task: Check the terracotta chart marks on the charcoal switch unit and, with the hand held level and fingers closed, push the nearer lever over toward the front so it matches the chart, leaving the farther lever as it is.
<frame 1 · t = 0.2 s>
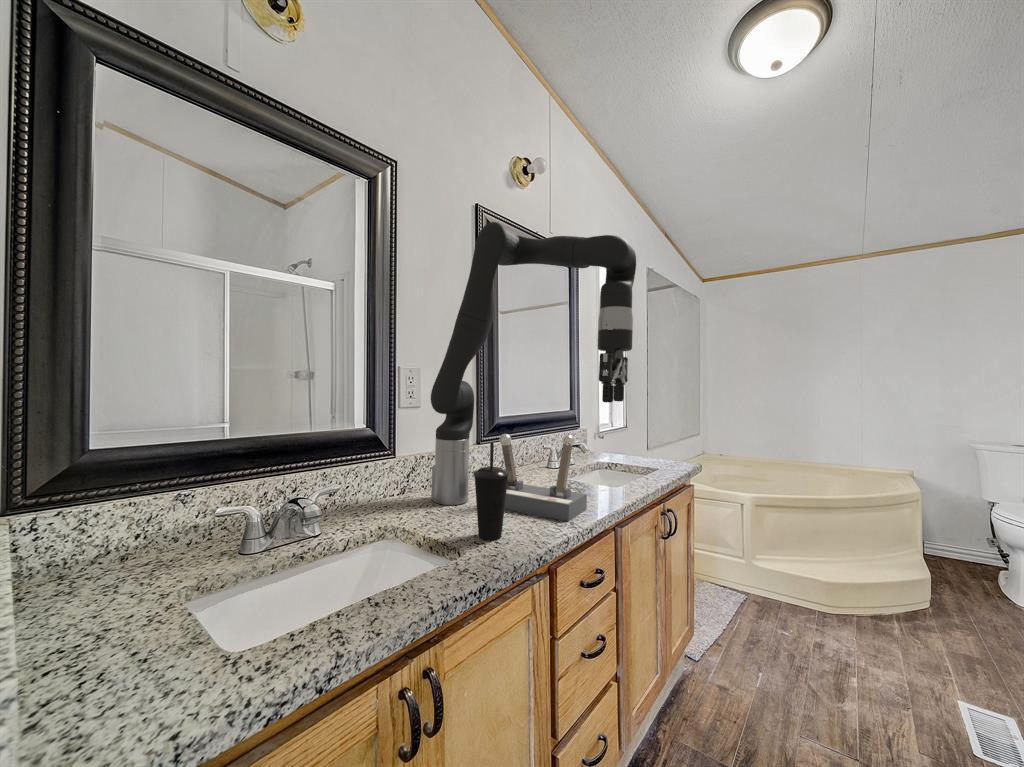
hand: (613, 401, 96), 29 cm above the worktop, tool pointing down, fingers open, 8 cm apart
lever 1: (508, 460, 115), point 12 cm above the worktop, hinge at 20.0°
drinking cup: (489, 537, 91), on the worktop
lever 2: (564, 463, 112), point 12 cm above the worktop, hinge at -20.0°
switch unit: (535, 507, 113), on the worktop
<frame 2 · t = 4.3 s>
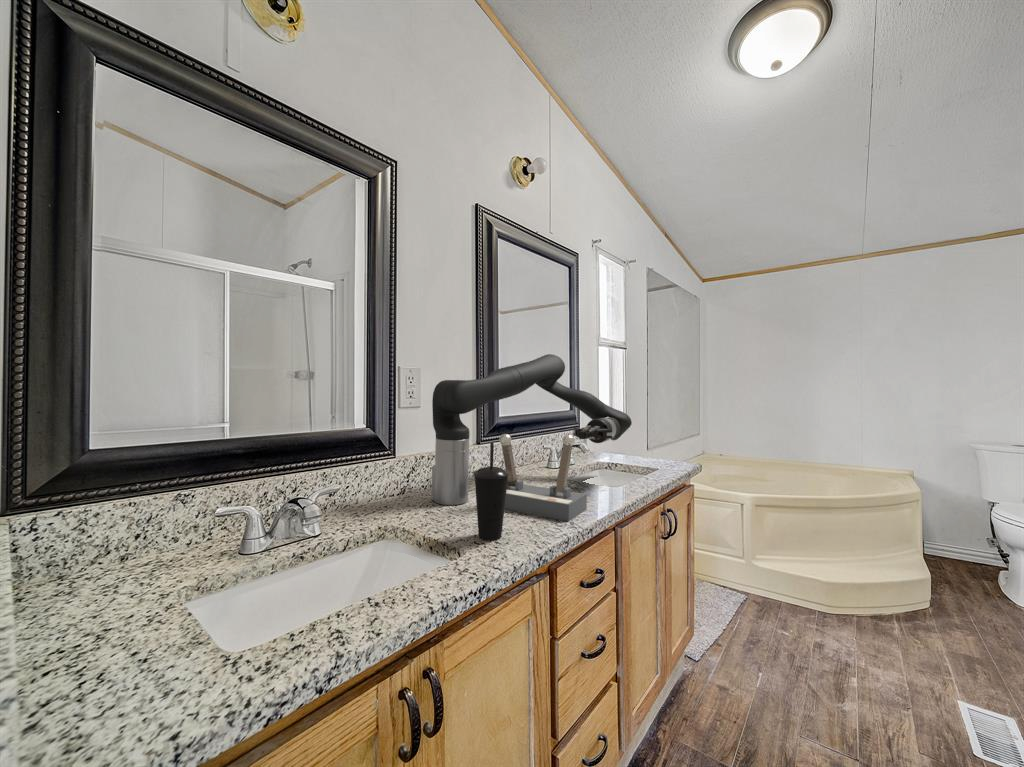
hand: (581, 435, 122), 18 cm above the worktop, tool horizontal, fingers closed
nothing on the worktop moved.
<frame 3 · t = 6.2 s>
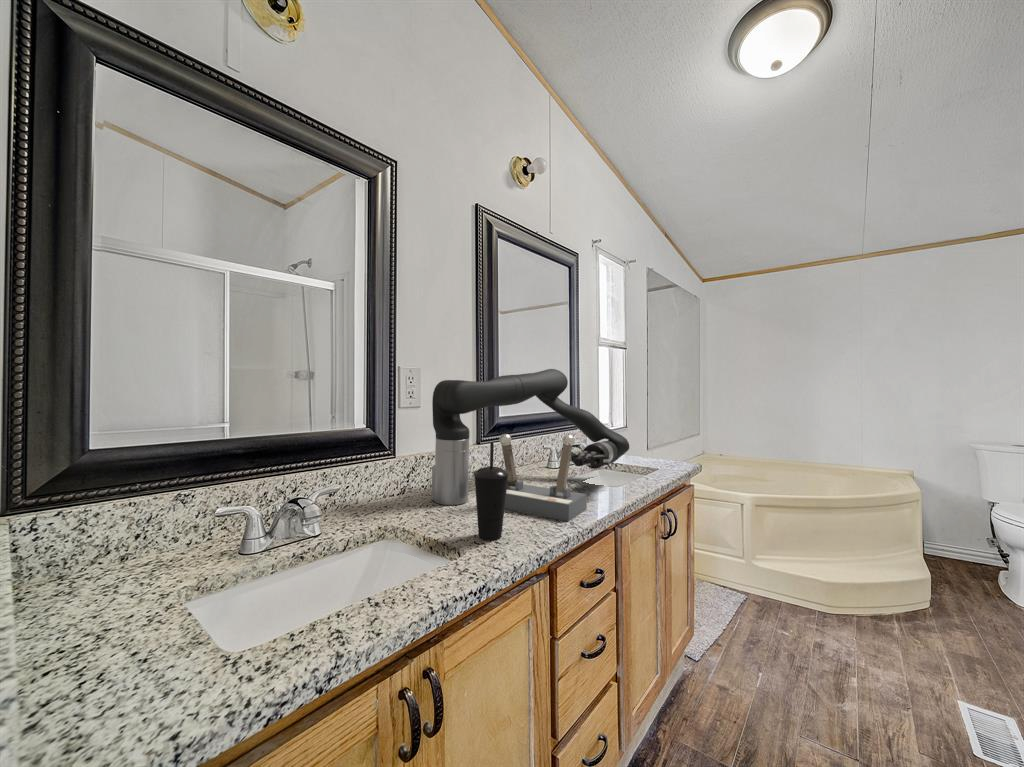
hand: (577, 462, 120), 11 cm above the worktop, tool horizontal, fingers closed
nothing on the worktop moved.
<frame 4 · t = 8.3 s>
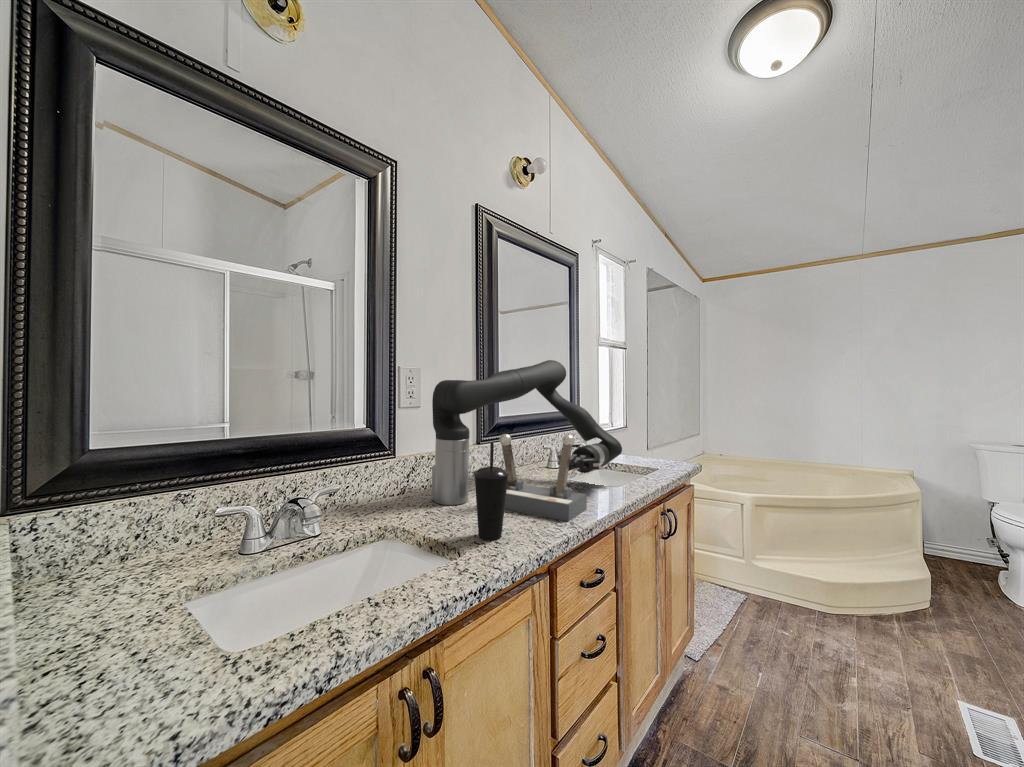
hand: (565, 466, 113), 11 cm above the worktop, tool horizontal, fingers closed
lever 2: (564, 463, 112), point 12 cm above the worktop, hinge at -19.6°, touching gripper
everything else where it was.
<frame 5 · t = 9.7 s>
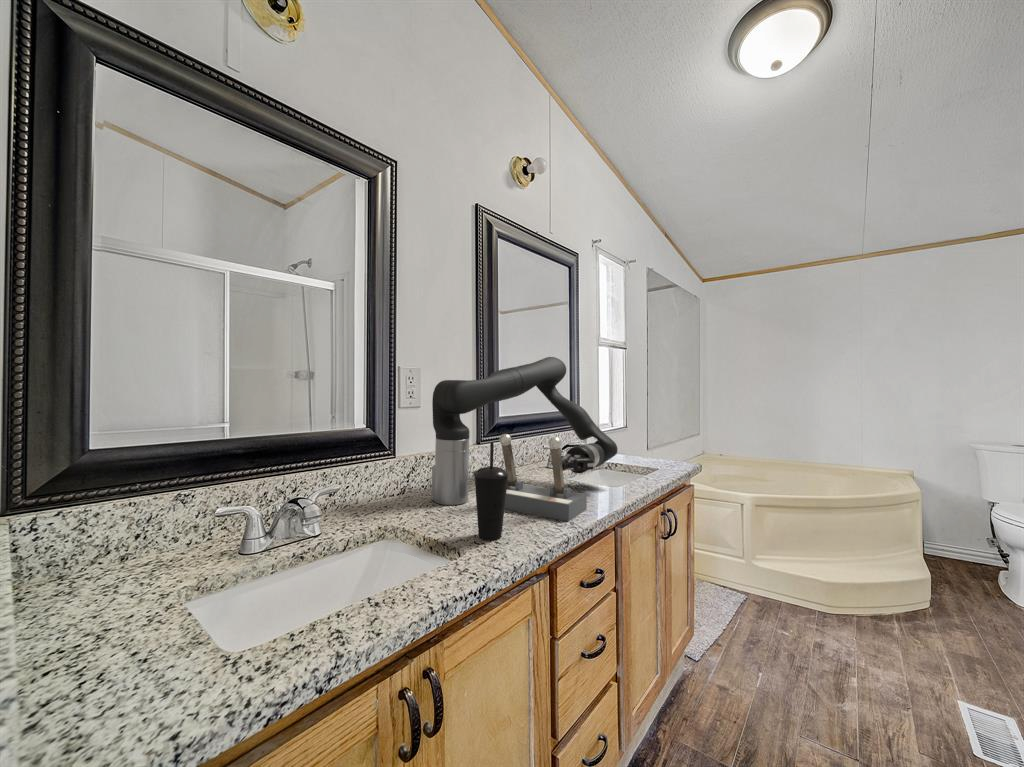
hand: (559, 466, 109), 12 cm above the worktop, tool horizontal, fingers closed
lever 2: (557, 465, 108), point 12 cm above the worktop, hinge at 16.9°, touching gripper
everything else where it was.
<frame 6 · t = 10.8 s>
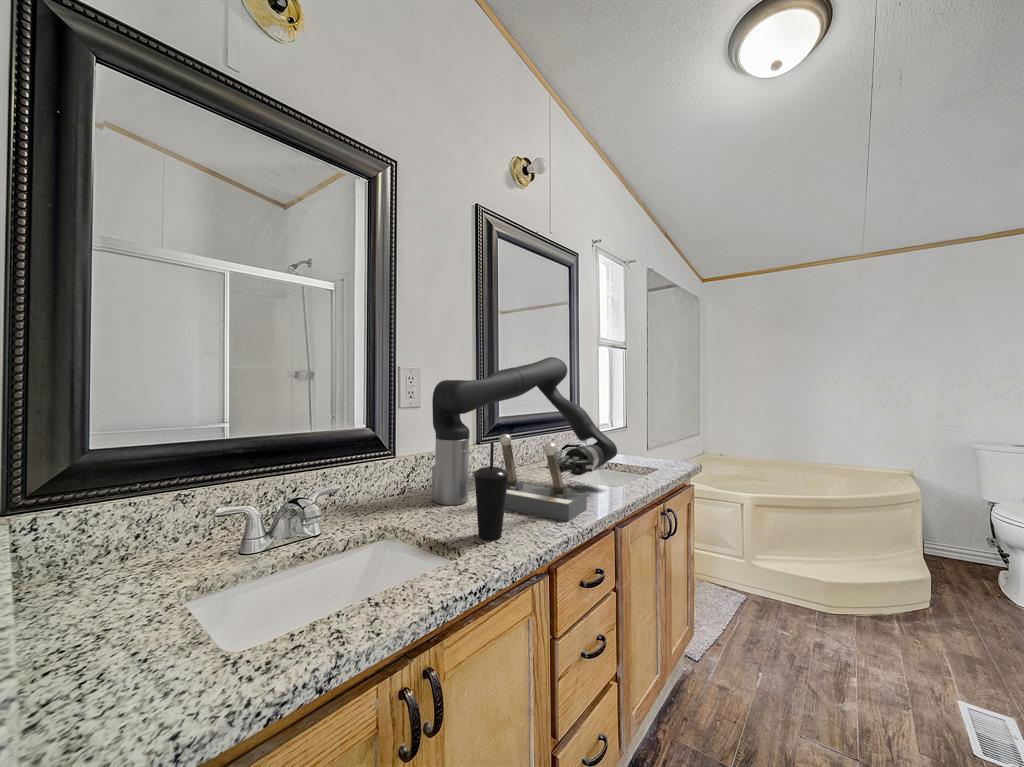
hand: (557, 469, 108), 11 cm above the worktop, tool horizontal, fingers closed
lever 2: (554, 468, 107), point 12 cm above the worktop, hinge at 29.1°, touching gripper
everything else where it was.
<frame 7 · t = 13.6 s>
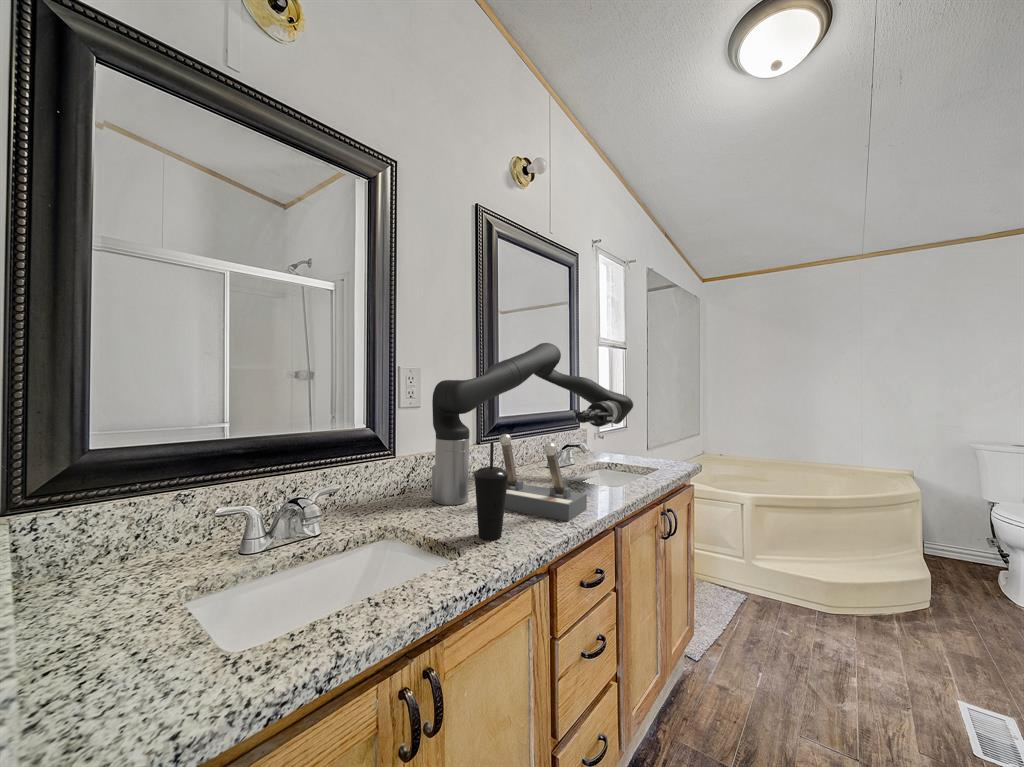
hand: (581, 419, 121), 23 cm above the worktop, tool horizontal, fingers closed
lever 2: (554, 468, 107), point 12 cm above the worktop, hinge at 29.3°
everything else where it was.
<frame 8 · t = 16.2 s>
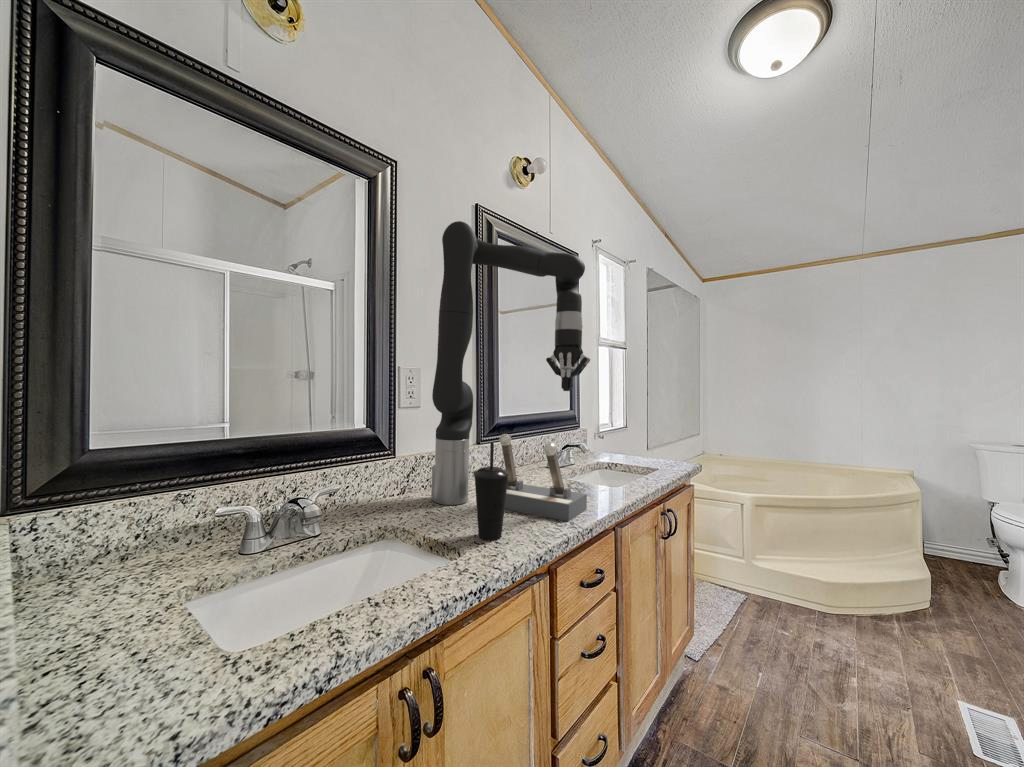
hand: (567, 390, 120), 31 cm above the worktop, tool pointing down, fingers closed
nothing on the worktop moved.
at the end: lever 2 at +29° (first picture: -20°); lever 1 at +20° (first picture: +20°) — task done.
